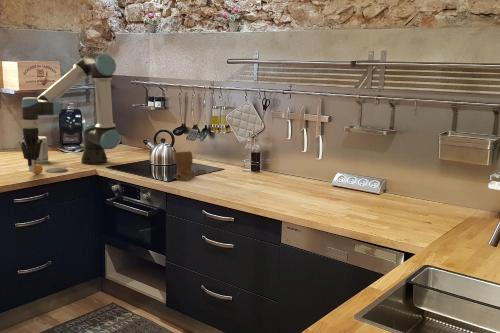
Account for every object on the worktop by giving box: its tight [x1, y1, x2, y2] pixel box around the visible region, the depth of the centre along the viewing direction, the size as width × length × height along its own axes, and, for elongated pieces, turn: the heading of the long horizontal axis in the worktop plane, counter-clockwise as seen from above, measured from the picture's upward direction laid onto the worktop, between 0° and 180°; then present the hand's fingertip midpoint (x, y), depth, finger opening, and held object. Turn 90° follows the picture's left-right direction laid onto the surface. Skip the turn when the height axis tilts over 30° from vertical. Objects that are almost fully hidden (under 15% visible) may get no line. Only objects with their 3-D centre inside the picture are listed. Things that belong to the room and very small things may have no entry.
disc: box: [44, 167, 69, 174], centre depth 290 cm, size 12×12×1 cm
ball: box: [32, 163, 44, 175], centre depth 279 cm, size 6×6×6 cm
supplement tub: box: [36, 135, 49, 164], centre depth 310 cm, size 10×10×15 cm
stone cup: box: [172, 150, 198, 181], centre depth 284 cm, size 15×12×15 cm
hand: (31, 171), depth 276 cm, fingers closed
